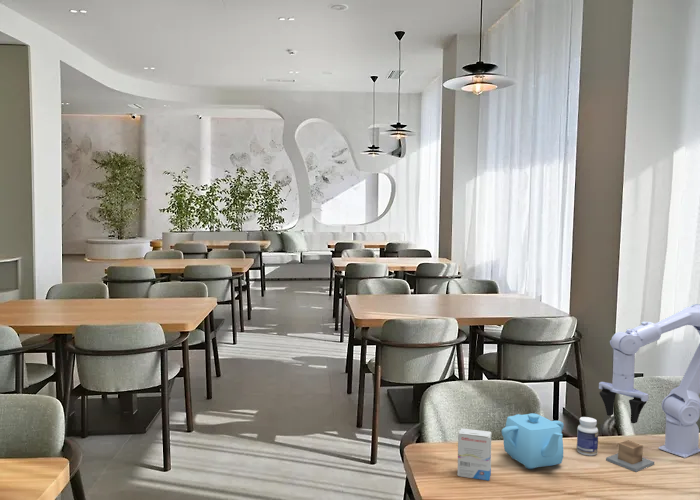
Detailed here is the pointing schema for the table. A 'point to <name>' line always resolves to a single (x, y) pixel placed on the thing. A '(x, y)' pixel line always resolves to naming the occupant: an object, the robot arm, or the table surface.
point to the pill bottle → (587, 436)
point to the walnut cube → (630, 452)
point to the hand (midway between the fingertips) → (621, 418)
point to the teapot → (533, 440)
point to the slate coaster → (633, 467)
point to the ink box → (474, 454)
